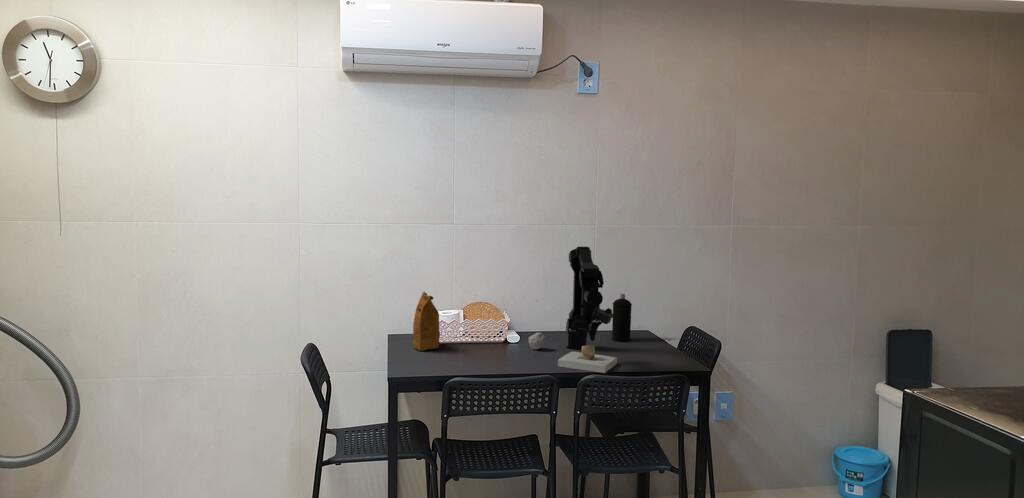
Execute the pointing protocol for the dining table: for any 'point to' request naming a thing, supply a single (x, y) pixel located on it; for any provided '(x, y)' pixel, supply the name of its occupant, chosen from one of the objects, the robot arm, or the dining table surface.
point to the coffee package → (426, 324)
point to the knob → (588, 353)
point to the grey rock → (536, 340)
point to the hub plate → (587, 362)
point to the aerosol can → (621, 320)
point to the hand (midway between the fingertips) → (588, 343)
